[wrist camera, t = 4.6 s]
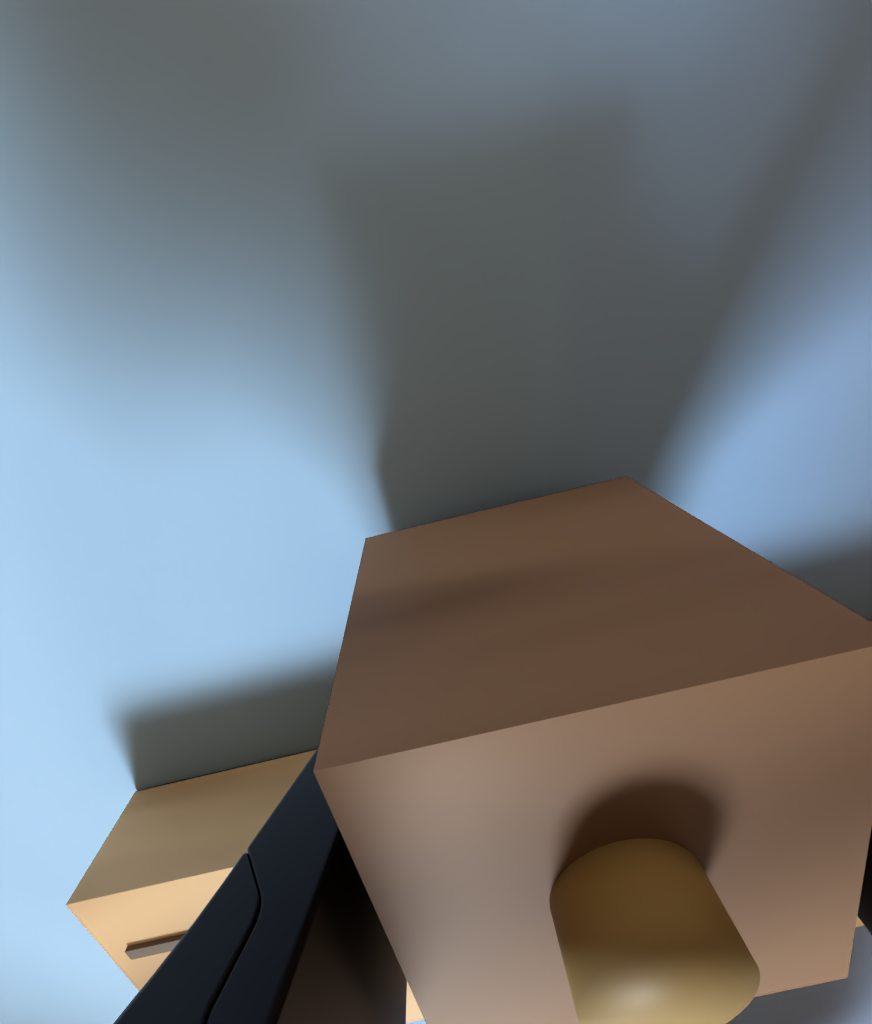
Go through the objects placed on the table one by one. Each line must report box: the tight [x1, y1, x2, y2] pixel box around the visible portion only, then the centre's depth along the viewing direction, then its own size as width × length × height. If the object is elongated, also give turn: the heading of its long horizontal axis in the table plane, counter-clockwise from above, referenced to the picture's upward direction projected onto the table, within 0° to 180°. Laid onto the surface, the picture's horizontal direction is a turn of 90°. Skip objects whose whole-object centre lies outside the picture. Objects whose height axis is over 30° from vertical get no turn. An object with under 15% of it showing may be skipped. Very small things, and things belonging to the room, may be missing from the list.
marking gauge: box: [313, 476, 872, 1024], centre depth 7 cm, size 10×5×6 cm, turn 13°
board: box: [66, 621, 872, 1023], centre depth 11 cm, size 7×24×3 cm, turn 103°
